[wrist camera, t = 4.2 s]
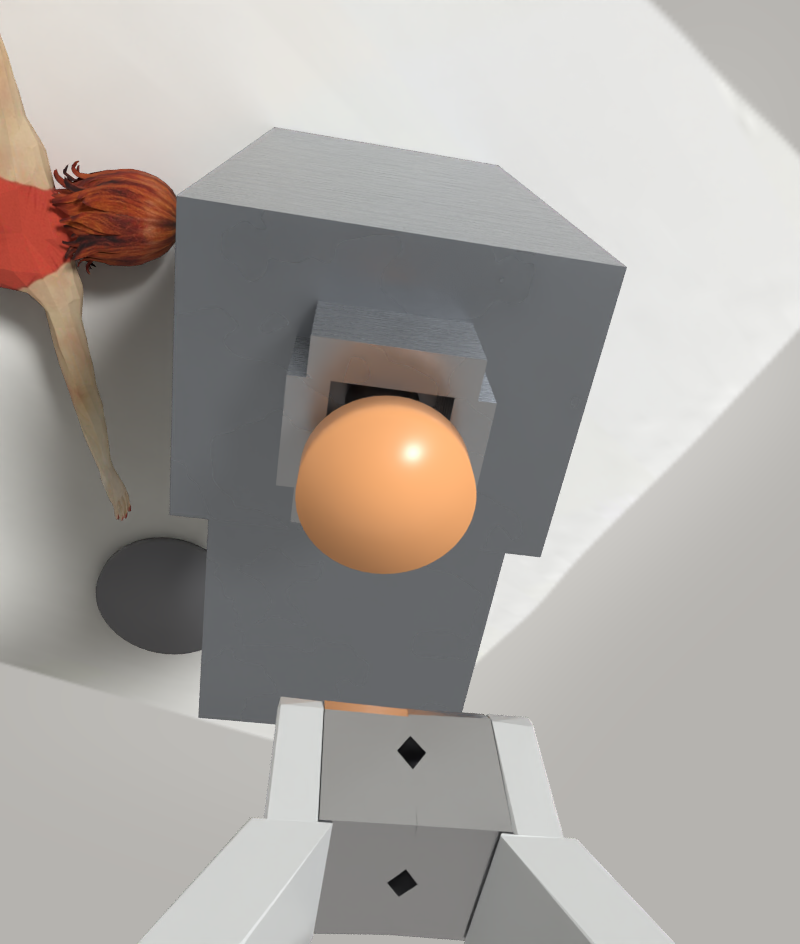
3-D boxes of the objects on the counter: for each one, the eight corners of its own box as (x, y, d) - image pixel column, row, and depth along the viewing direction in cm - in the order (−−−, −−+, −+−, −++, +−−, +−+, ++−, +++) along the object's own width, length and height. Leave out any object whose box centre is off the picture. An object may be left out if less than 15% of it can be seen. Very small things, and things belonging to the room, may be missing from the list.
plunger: (303, 460, 19) (287, 563, 15) (318, 328, 17) (305, 405, 13) (438, 477, 19) (456, 582, 15) (466, 349, 18) (493, 430, 14)
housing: (250, 439, 40) (144, 783, 21) (274, 127, 33) (146, 216, 14) (436, 462, 41) (496, 810, 22) (498, 165, 34) (664, 297, 15)
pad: (100, 640, 46) (97, 647, 46) (97, 530, 42) (94, 536, 42) (234, 653, 47) (232, 660, 46) (242, 546, 43) (240, 552, 43)
